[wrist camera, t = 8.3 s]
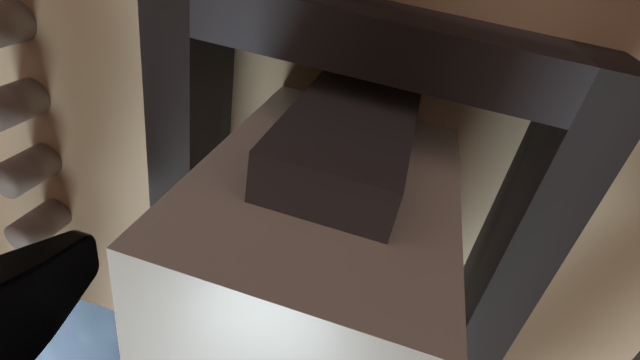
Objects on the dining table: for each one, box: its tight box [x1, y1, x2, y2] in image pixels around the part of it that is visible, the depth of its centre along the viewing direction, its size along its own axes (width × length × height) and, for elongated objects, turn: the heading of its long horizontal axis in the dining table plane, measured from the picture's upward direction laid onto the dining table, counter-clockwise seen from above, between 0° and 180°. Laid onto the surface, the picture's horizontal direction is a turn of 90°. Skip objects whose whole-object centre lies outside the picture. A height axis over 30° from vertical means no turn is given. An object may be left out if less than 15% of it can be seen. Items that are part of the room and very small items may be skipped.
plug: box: [106, 70, 467, 360], centre depth 8 cm, size 4×7×6 cm, turn 170°
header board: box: [0, 0, 640, 360], centre depth 11 cm, size 20×14×4 cm
